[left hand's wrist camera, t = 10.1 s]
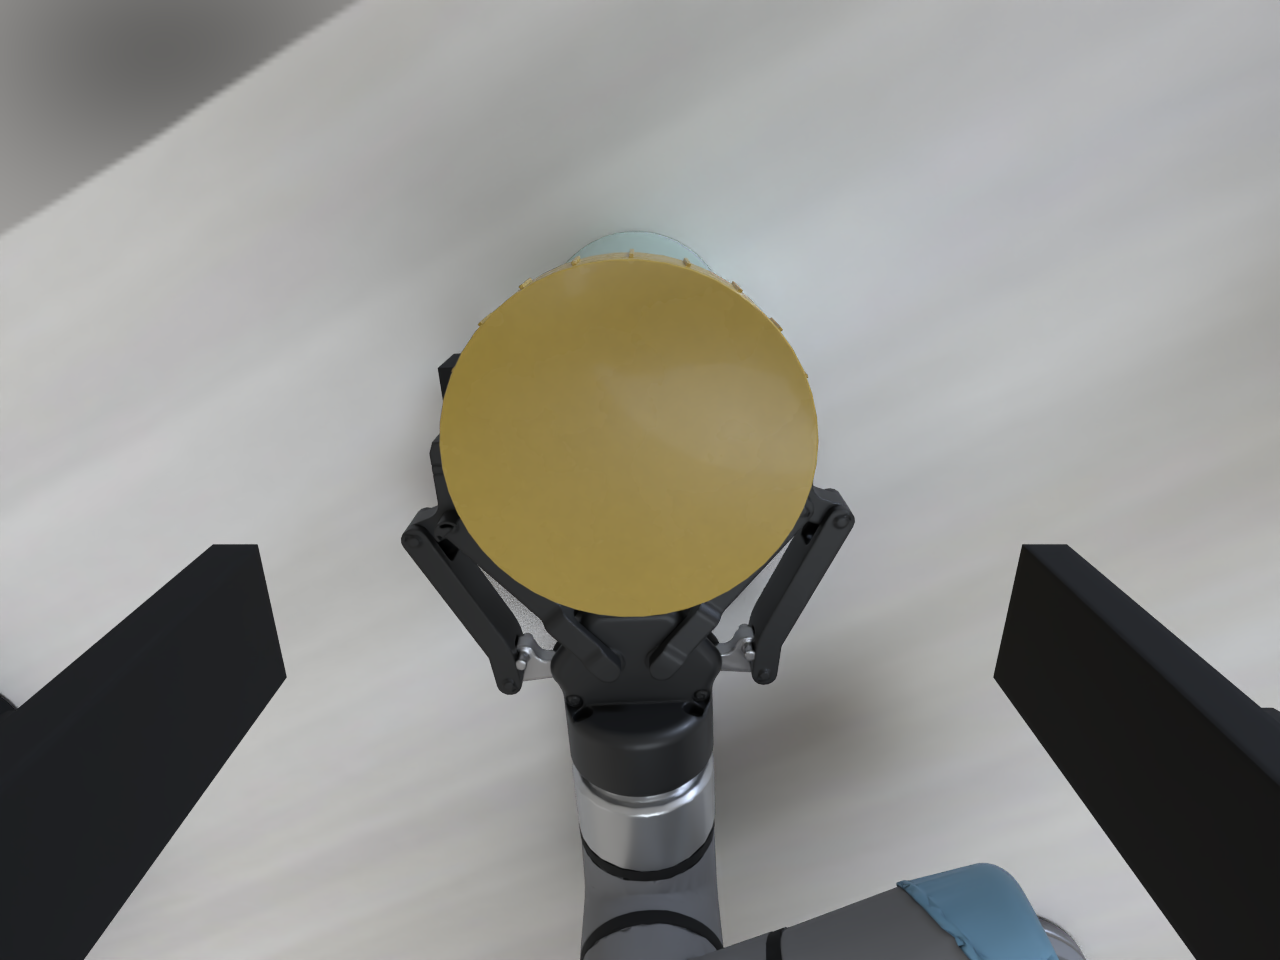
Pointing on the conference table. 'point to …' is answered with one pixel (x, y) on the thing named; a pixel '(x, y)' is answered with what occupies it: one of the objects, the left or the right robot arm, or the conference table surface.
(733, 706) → the conference table surface
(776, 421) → the lid
